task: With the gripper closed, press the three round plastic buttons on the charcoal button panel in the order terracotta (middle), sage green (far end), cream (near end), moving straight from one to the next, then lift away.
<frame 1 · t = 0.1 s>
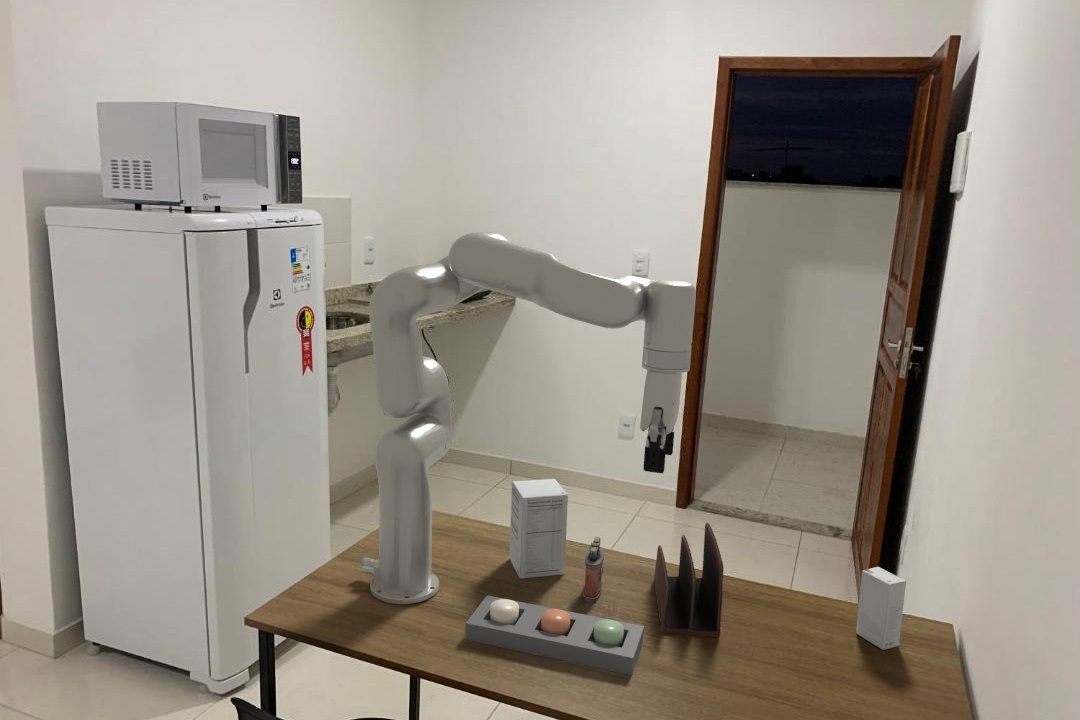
hand: (658, 462, 129), 31 cm above the table, tool pointing down, fingers open, 9 cm apart
sage button: (608, 635, 129), point 3 cm above the table, slide at 0.0 cm
button panel: (554, 641, 132), on the table
cream button: (504, 614, 134), point 3 cm above the table, slide at 0.0 cm
supplement box: (536, 567, 159), on the table
lighter: (592, 593, 150), on the table
letter holder: (684, 608, 146), on the table
terracotta button: (555, 624, 132), point 3 cm above the table, slide at 0.0 cm
skincare box: (875, 640, 138), on the table
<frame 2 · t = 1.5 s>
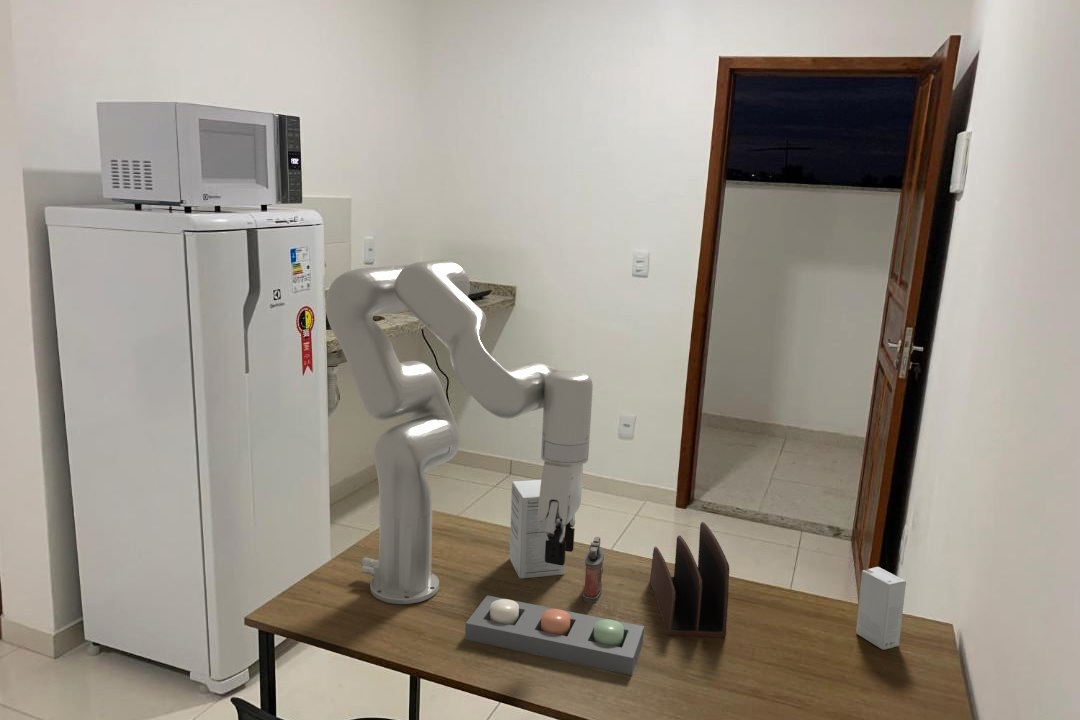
hand: (559, 555, 129), 15 cm above the table, tool pointing down, fingers open, 4 cm apart
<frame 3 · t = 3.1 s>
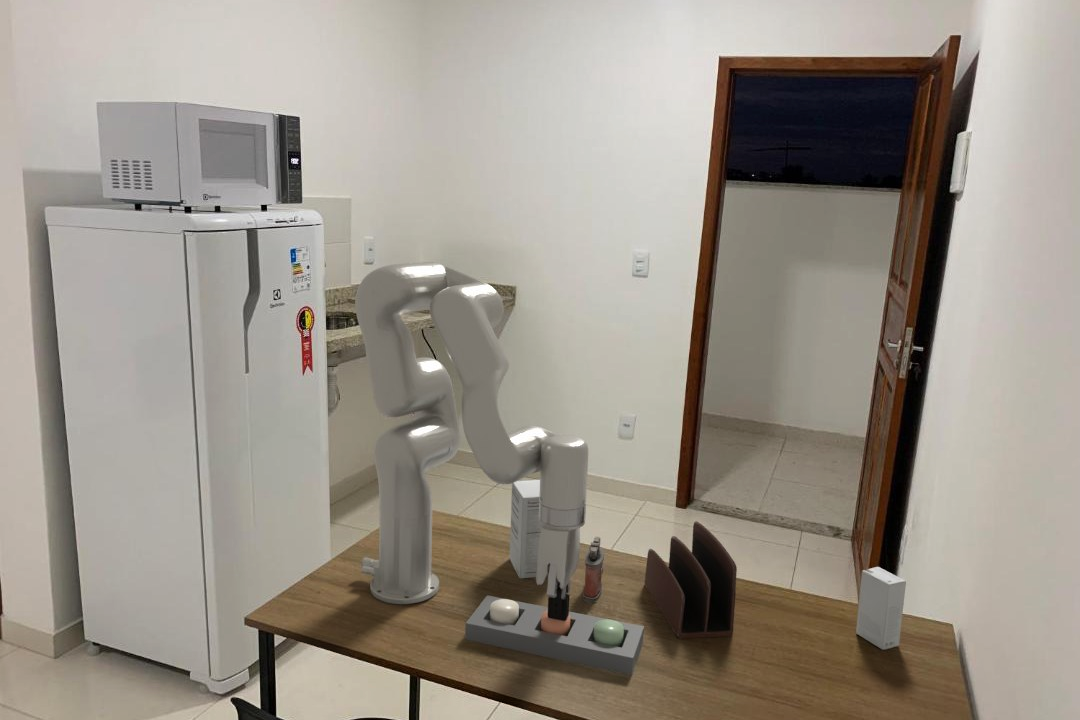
hand: (558, 617, 131), 5 cm above the table, tool pointing down, fingers closed
terracotta button: (555, 624, 132), point 3 cm above the table, slide at 0.0 cm, touching gripper
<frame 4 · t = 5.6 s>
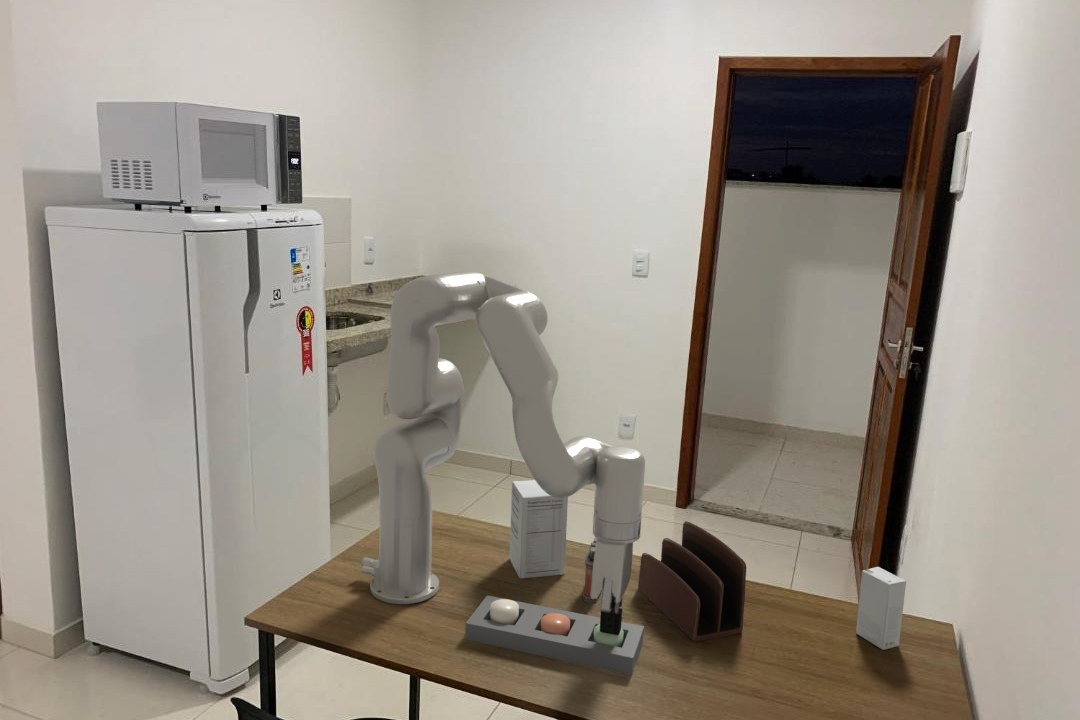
hand: (610, 631, 129), 4 cm above the table, tool pointing down, fingers closed
sage button: (608, 639, 129), point 2 cm above the table, slide at 0.7 cm, touching gripper
terracotta button: (555, 628, 132), point 2 cm above the table, slide at 0.8 cm
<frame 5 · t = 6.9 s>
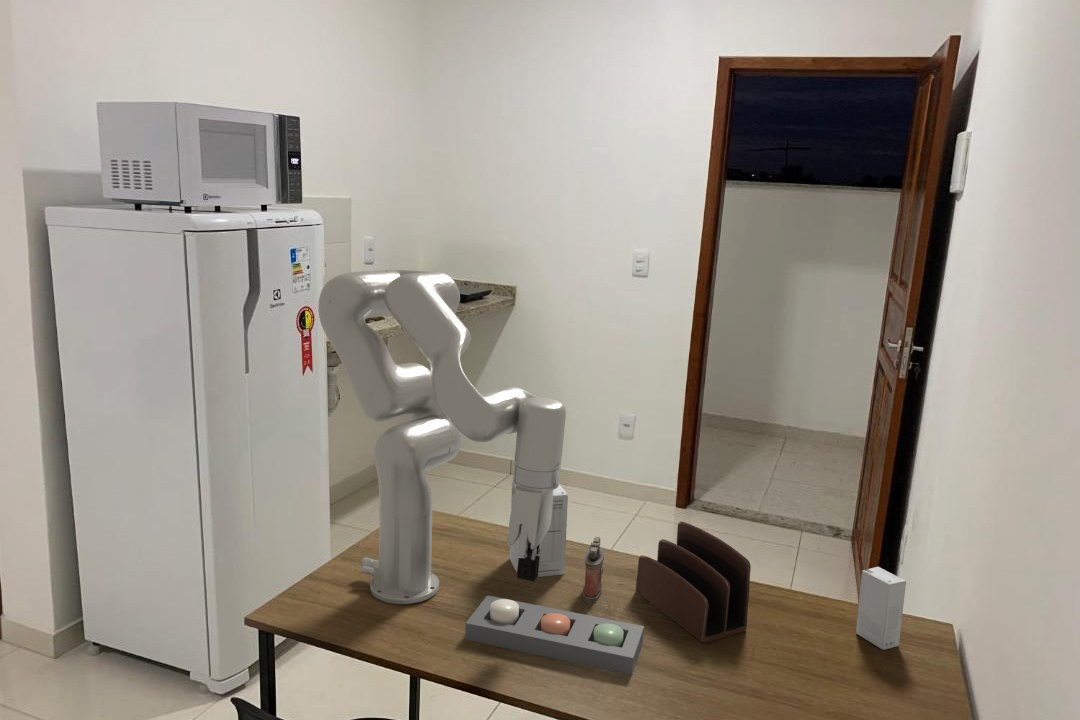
hand: (527, 577, 132), 10 cm above the table, tool pointing down, fingers closed
sage button: (608, 639, 129), point 2 cm above the table, slide at 0.7 cm
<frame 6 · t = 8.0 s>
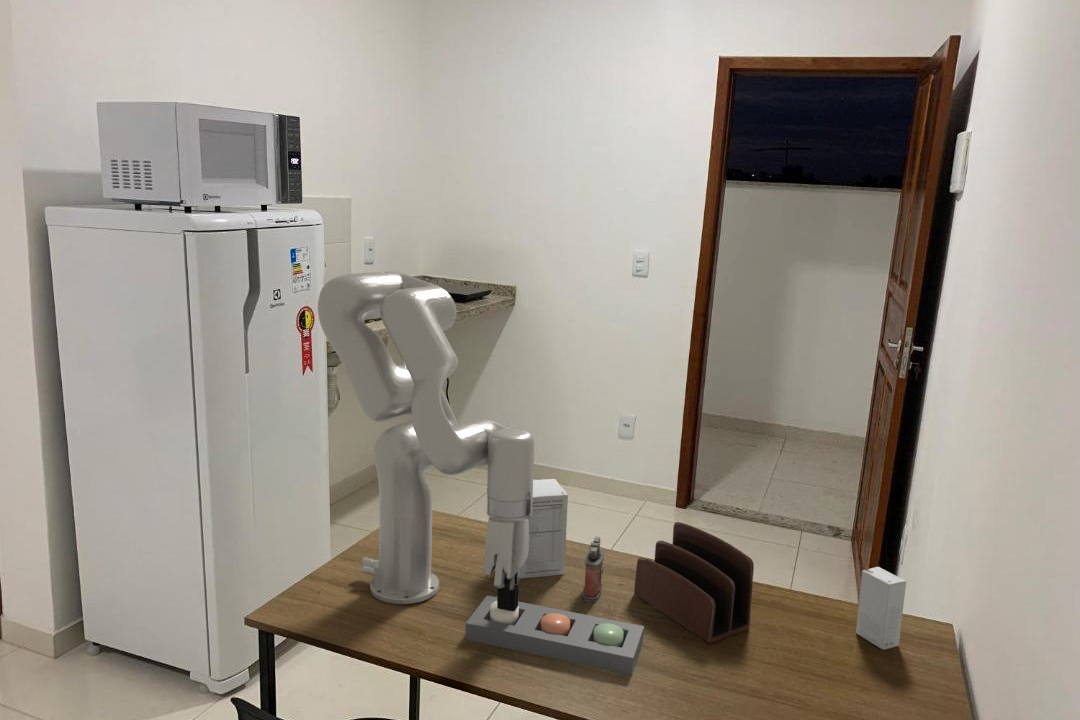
hand: (507, 607, 134), 4 cm above the table, tool pointing down, fingers closed
cream button: (504, 614, 134), point 3 cm above the table, slide at 0.1 cm, touching gripper
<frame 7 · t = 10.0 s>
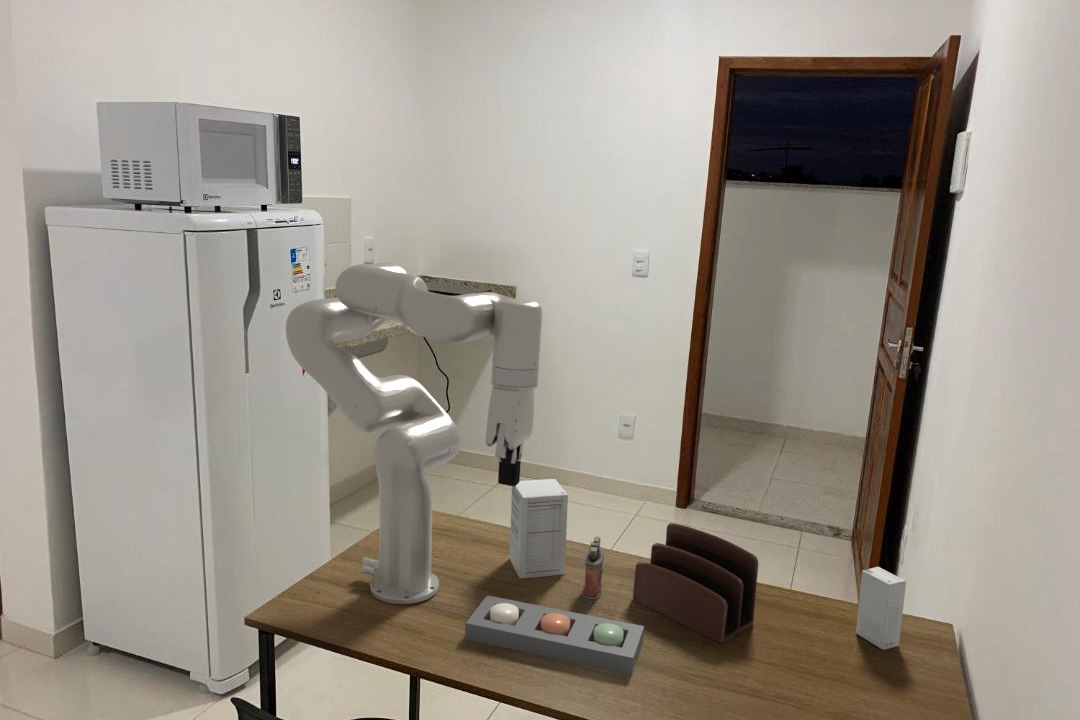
hand: (508, 483, 132), 26 cm above the table, tool pointing down, fingers closed
cream button: (504, 618, 134), point 2 cm above the table, slide at 0.8 cm
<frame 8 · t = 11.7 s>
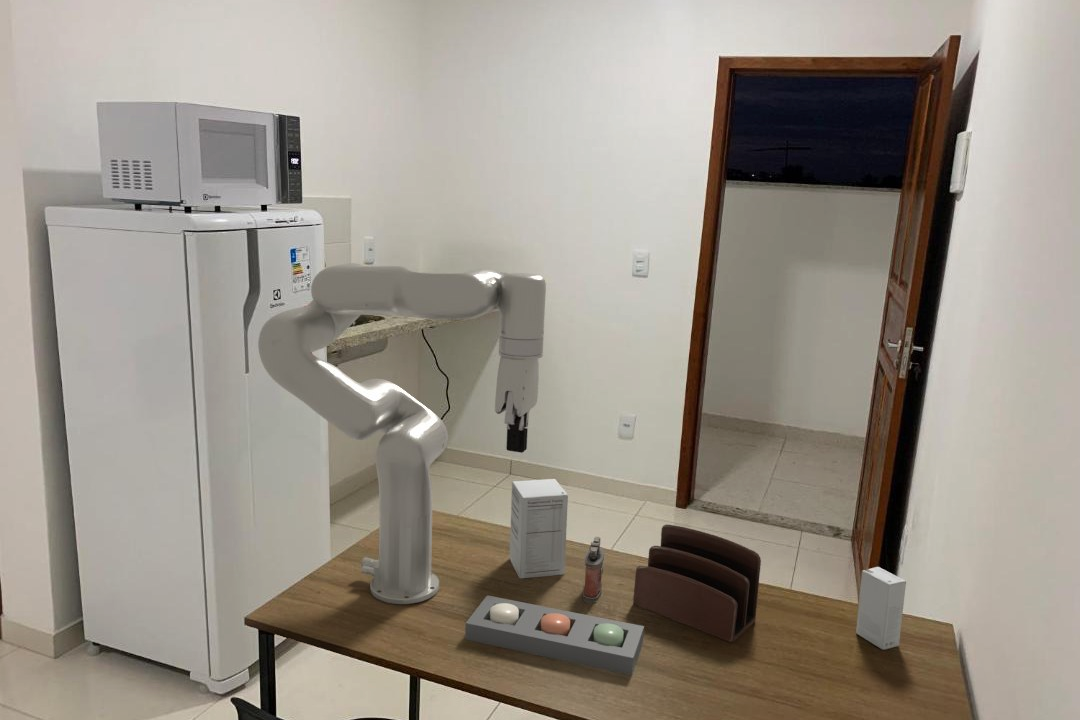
hand: (516, 450, 138), 29 cm above the table, tool pointing down, fingers closed
at the end: terracotta button slide at 0.8 cm; sage button slide at 0.7 cm; cream button slide at 0.8 cm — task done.
